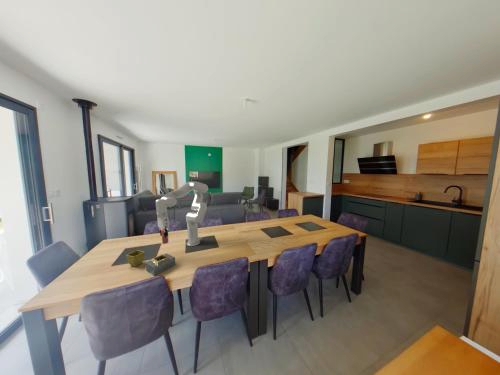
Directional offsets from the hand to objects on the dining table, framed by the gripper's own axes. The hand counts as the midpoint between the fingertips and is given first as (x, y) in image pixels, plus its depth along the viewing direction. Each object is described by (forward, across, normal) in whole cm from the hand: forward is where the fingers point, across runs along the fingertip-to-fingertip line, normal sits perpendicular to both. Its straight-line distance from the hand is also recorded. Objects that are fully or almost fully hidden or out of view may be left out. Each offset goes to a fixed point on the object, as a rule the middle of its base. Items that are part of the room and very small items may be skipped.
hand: (164, 235), depth 137 cm
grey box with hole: (+19, -10, +10) cm, 24 cm away
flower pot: (+19, +11, +18) cm, 28 cm away
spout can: (+6, 0, -1) cm, 6 cm away
